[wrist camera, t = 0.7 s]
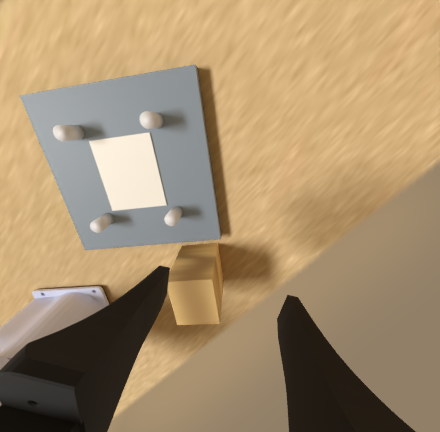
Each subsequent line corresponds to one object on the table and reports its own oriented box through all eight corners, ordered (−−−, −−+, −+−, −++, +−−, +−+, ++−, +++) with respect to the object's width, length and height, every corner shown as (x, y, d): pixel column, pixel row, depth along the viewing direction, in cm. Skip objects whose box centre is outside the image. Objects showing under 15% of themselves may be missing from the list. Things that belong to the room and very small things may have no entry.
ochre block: (190, 282, 25) (177, 325, 20) (182, 245, 24) (165, 282, 18) (223, 280, 25) (219, 323, 20) (217, 242, 23) (211, 279, 18)
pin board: (90, 245, 24) (72, 260, 22) (30, 97, 19) (-6, 92, 16) (221, 234, 23) (219, 249, 20) (197, 67, 17) (190, 56, 14)
